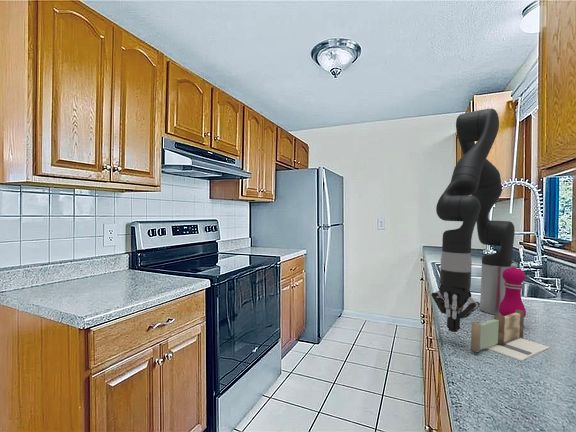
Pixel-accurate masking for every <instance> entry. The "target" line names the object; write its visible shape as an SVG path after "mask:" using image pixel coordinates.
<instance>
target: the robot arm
mask: <svg viewBox="0 0 576 432" xmlns="http://www.w3.org/2000/svg"><path fill="white" fill-rule="evenodd" d="M499 128H500V118H499V114H498V112H497V110H496V109H494V108H484V109H478V110H474V111H469V112H465V113H461V114H459V115H458V116H457V118H456V121H455V131H456V135H457V139H458V143H459V146H460V149H461V152H462V156H461V158H459V160H458V161H457V162H456V164H455V167H454V169H453V172H452V176H451V180H450V181H449V184H448V185H447V187H446V188H445V190H444V191H443V193H442V194H440V195H441V196H440V197H439V199H437V200H438V201H437V203H436V207H435V209H436V214H437V216H438V218H439V219H441V220H442V221H446V222H447V221H448V222H462V224H461V225H460V227H459V228H455V229H448V230H445V231H444V232H443V233H442V242H441V243H442V244H441V245H442V246H441V250H442V251H441V257H440V266H439V267H440V268H439V269H440V271H439V283H440V286H439V287H438V290H437V291H435V292H432V293H431V298H432V299H433V301H434V303H435V304H436V306H437V309H438V310H439V311H440V313H441V314H445V316H446V318H447V321H446V327H447V328H446V329H448V331H449V332H451V333H457V332H458V331H460V329H461V320H462V319H467V318H468V317H470V315H471V314H472V313H473V312H475V311H476V310H477V309H478V308H479V310H480V311H482V312H484V313H487V314H491V315H501V314H500V312H499V306H500V303H501V302H502V300H503V298H504V296H505V287H504V282H505V280H504V279H503V276H502V274H503V271H504V270H505V269H507V268H511V264H512V263H513V256H514V255H513V252H514V242H515V229H516V228H515V226H514V223H513V222H512V221H510V220H509V221H508V220H491V219H489V214H490V211H491V210H492V208H493V207H494V205H496V203H497V202H498V200H499V198H500V197H501V195H502V192H503V186H502V185H503V184H502V179H501V174H500V170H498V169H497V168H496V166H495V165H494V164H493V163H492V162H491V161H489V159H487V157H488V156H489V153H490V151H491V150H492V147H493V145H494V142H495V140H496V138H497V135H498V132H499ZM475 142H476V143H475ZM475 226H476V231H477V237H478V240H479V242H480V244H482V245H485V246H493V247H494V246H495V247H500V249H499V250H498V251H496V252H494V253H493V252H492V253H489V254H486V255H483V256H482V258H481V274H480V296H479V298H480V299H479V301H480V302H479V301H476V300H474V298H472V293H471V290H470V289H471V285H472V284H471V283H472V253H471V252H472V240H473V233H474V229H475ZM465 305H466V307H464V306H465Z"/></svg>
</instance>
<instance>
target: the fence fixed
mask: <svg viewBox="0 0 576 432" xmlns="http://www.w3.org/2000/svg"><path fill="white" fill-rule="evenodd" d="M493 315H494V316H493V317H494V318H493V319H495V320H499V329H498V344H499V345H504V342H507V341H509V340H512V339H514V338H517V337H519V338H522V339H524V327H523V324H524V321H525V317H524V311H522V310H516V312H515V313H513V314H510V315H506V316H502V315H496V314H493Z"/></svg>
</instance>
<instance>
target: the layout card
mask: <svg viewBox="0 0 576 432" xmlns="http://www.w3.org/2000/svg"><path fill="white" fill-rule="evenodd" d="M485 349H486V350H489V351H492V352H495V353H498V354H500V355H503V356H506V357H508V358H511V359H514V360H517V361H519V362H523V361H525V360H527V359H529V358H531V357H533V356H536V355H537V354H540V353H542V352H545V351H547V350H549V349H550V346H547V345H544V344H541V343H538V342H535V341H531V340H528V339H524V338H519V337H517V338H514V339H512V340H509V341H507V342H504V345H499V344H495V345H492V346H490V347H487V348H485Z"/></svg>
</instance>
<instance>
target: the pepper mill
mask: <svg viewBox="0 0 576 432" xmlns="http://www.w3.org/2000/svg"><path fill="white" fill-rule="evenodd" d="M502 276H503V279H504V280H505V282H504V287H505V296H504V298H503V300H502V302H501V303H500V306H499V312H500V314H501V315H502V316H506V315H510V314H513V313H515V312H516V310H522V311H524V318H526V316H527V313H526V312H527V311H526V310H527V309H526V307H525V305H524V303H523V300H522V295H521V292H522V289H523V286H524V285H523V282H525V280H526V274H525V272H524V271H523V270H522V269H520V268H518V264H517V263H516V262H512V264H511V268H507V269H505V270H504V271H503V274H502ZM524 326H525V325H524V324H523V328H524Z"/></svg>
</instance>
